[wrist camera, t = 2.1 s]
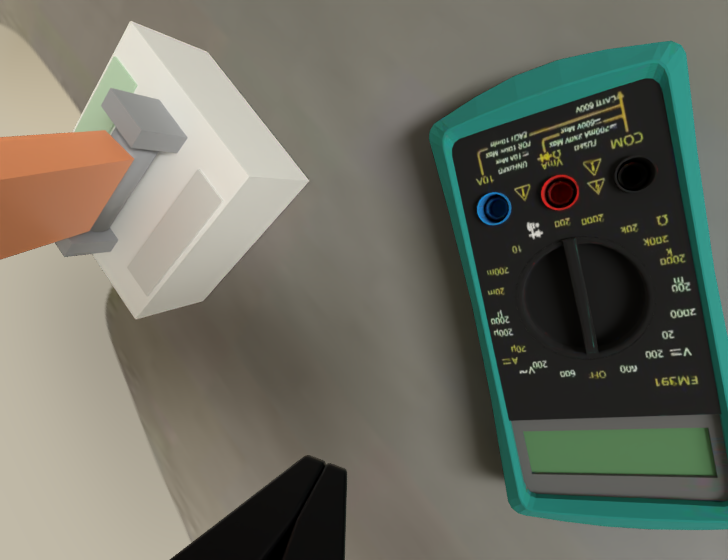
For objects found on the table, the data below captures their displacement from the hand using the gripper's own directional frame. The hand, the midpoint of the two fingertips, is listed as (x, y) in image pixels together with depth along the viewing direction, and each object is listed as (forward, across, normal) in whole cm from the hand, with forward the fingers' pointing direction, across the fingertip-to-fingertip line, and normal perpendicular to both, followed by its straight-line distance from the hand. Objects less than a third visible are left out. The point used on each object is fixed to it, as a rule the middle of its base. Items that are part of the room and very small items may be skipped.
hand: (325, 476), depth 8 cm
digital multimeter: (+10, -6, -1) cm, 12 cm away
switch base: (+13, +12, 0) cm, 17 cm away
